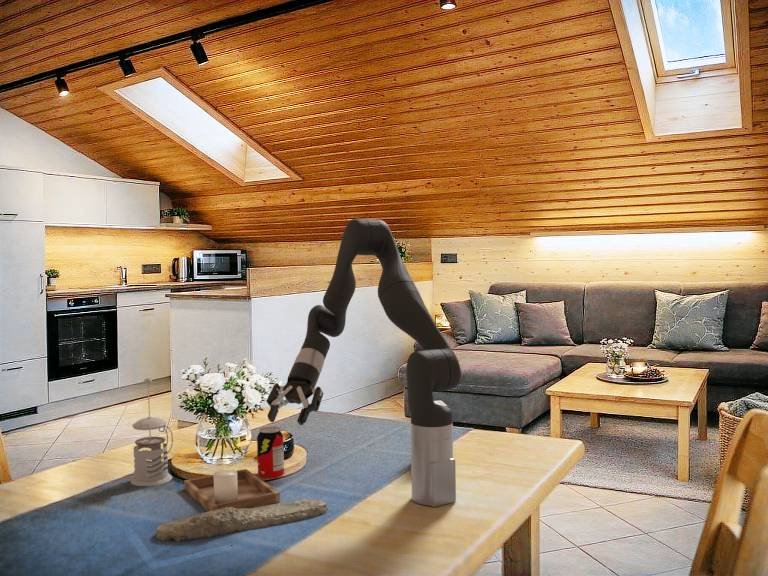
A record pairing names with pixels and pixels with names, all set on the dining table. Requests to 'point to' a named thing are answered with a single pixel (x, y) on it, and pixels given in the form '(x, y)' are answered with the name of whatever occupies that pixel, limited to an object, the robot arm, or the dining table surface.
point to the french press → (151, 452)
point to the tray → (249, 492)
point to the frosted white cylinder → (225, 486)
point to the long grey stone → (238, 519)
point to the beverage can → (270, 452)
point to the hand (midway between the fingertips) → (285, 422)
